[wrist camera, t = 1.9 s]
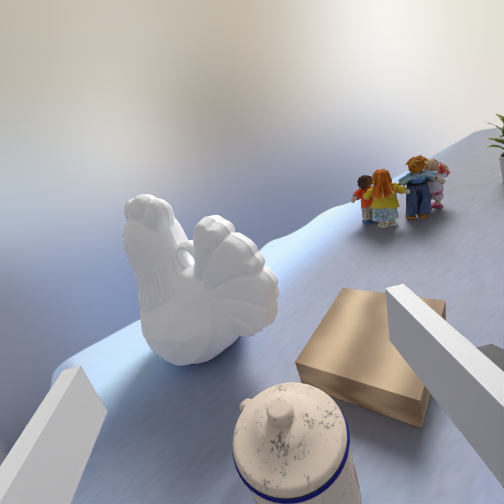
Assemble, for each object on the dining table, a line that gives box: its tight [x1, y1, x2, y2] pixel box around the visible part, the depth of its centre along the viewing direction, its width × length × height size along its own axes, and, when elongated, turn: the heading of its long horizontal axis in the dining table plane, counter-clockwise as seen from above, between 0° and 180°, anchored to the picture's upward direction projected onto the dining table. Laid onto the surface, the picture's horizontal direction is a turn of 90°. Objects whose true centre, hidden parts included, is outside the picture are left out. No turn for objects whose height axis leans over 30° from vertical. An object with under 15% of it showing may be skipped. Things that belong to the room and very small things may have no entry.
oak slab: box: [295, 288, 446, 429], centre depth 38 cm, size 13×15×4 cm
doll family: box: [351, 155, 450, 228], centre depth 66 cm, size 21×10×13 cm, turn 86°
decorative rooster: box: [123, 194, 279, 366], centre depth 43 cm, size 25×16×25 cm, turn 43°
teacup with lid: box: [232, 383, 361, 504], centre depth 26 cm, size 12×9×12 cm
